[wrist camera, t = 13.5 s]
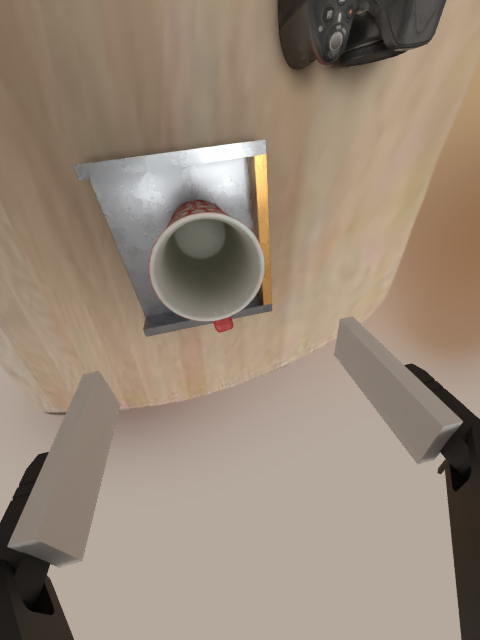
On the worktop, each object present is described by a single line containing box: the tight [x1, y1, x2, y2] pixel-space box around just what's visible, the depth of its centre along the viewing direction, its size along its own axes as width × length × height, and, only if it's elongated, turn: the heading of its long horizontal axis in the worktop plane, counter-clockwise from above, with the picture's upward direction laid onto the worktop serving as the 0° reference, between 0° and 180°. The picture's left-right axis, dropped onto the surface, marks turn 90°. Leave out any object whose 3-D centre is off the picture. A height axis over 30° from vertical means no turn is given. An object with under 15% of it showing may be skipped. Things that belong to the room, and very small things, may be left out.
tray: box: [72, 140, 272, 337], centre depth 30 cm, size 20×18×4 cm
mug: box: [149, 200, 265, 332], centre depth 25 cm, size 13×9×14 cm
